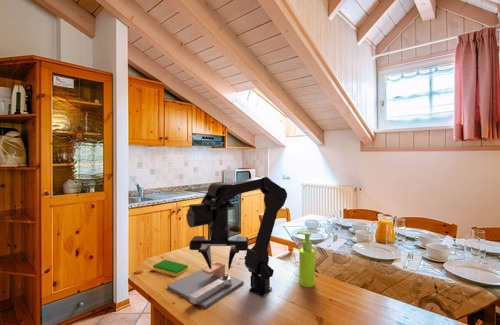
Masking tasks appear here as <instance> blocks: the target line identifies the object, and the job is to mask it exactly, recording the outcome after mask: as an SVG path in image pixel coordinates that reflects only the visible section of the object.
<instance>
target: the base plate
mask: <svg viewBox="0 0 500 325" xmlns="http://www.w3.org/2000/svg"><path fill="white" fill-rule="evenodd" d="M207 267H208V266H205V267H203V268H201V269H198V270H197V271H195V272H192V273H191V274H189V275H187V276H184V277H182V278H180V279H178V280H176V281H174V282H171V283H169V284H167V286H166V287H167V289H168V290H170V291H172V292H174V293H175V294H178V295H180V296H182V297H183V298H185V299H187V300H189V301H190V295H191V294H192V293H194V292H196V291H198V290H200V289H201V288H203V287H205V286H207V285H209V284H210V283H212V282H214V281H216V280H218V279H219V277H217V276H215V275H213V273H212V274H210V275H209V274H206V273H204V272H203V269H205V268H207ZM242 285H244V280H243V279H239V278H237V277H234V276H232V285H231V286H228V287H224V288H222V289H221V290H219V291H217V292H216V293H214V294H212V295H211V296H209V297H207V298H206V299H204V300H203V301H201V302H199V303H198V304H197V305H199V306H200V307H202V308H204V309H207V308H208V307H211V306H212V305H213V304H214V303H216V302H219V300H221V299H222V298H223V297H225V296H227V295H229V294H230V293H231V292H233V291H235V290H237V289H238V288H239V287H241V286H242Z"/></svg>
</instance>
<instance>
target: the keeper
mask: <svg viewBox="0 0 500 325" xmlns="http://www.w3.org/2000/svg"><path fill="white" fill-rule="evenodd" d="M206 267H207V268H205V267H204V268H205V269H203V268H202V269H203V272H204V273H206V274H209V275H210V274H212V273H213V275H215V276H217V277H220V276H222V275H224V274H226V264H224V263H221V262H219V261H217V262H215V263H213V264H212V266H211V269H209V266H206Z"/></svg>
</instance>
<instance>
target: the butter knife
mask: <svg viewBox="0 0 500 325" xmlns="http://www.w3.org/2000/svg"><path fill="white" fill-rule="evenodd" d="M240 256H242V253H241V252H239V253H236V254H235V256H234V258H233V260H232V262H234V261H235V260H237V259H238V258H239V257H240ZM236 258H237V259H236ZM228 263H229V261H228V262H227V263H226V265H228Z"/></svg>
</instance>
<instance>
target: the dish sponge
mask: <svg viewBox="0 0 500 325" xmlns="http://www.w3.org/2000/svg"><path fill="white" fill-rule="evenodd" d="M152 266H153V268H152V269H153V271H155V272H159V273H163V274H165V275H166V274H167V275H170V276H173V277H179V276H180V275H182V274H184V273H185V272H188V269H189V266H188V265H187V264H184V263H180V262H176V261H172V260H167V259H164V260H161V261H160V262H157V263H155V264H154V265H152Z"/></svg>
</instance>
